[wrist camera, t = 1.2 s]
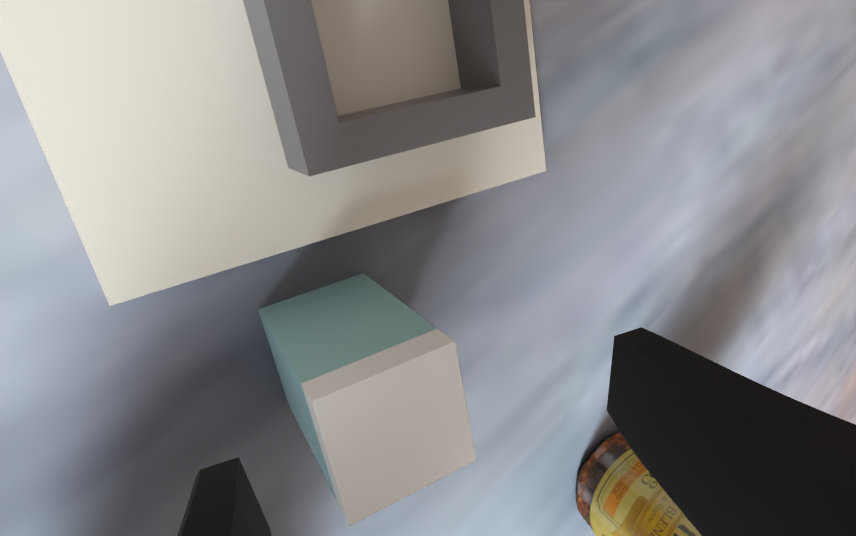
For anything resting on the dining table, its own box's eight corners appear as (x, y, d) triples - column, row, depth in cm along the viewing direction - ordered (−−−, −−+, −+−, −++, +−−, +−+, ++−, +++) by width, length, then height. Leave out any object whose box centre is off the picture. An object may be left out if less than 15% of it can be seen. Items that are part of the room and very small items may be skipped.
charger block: (384, 363, 22) (476, 460, 16) (288, 404, 21) (349, 526, 15) (363, 273, 21) (455, 341, 15) (257, 309, 19) (311, 401, 13)
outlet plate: (530, 168, 23) (589, 178, 20) (111, 295, 17) (105, 336, 14) (496, -147, 19) (564, -195, 16) (-67, -123, 13) (-129, -191, 10)
